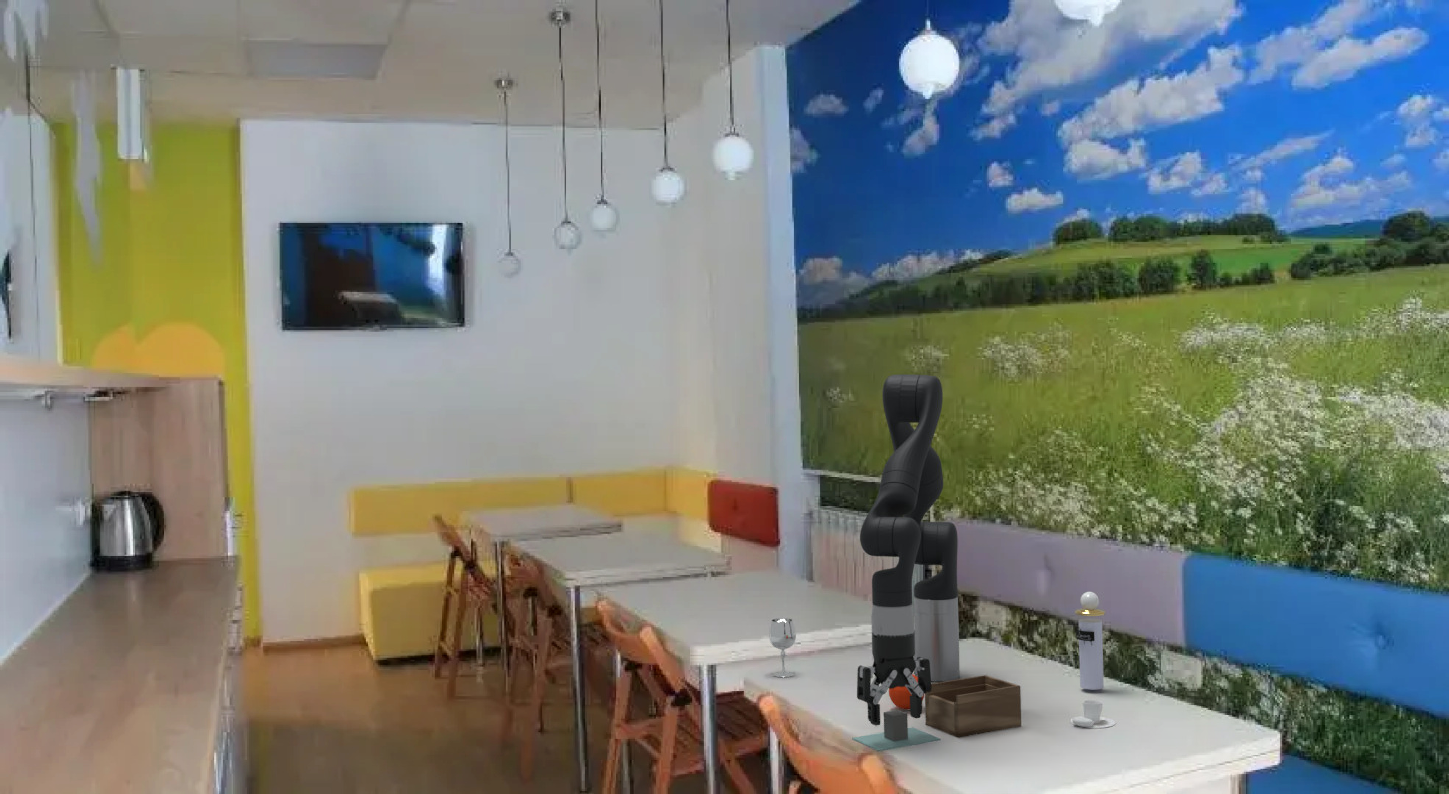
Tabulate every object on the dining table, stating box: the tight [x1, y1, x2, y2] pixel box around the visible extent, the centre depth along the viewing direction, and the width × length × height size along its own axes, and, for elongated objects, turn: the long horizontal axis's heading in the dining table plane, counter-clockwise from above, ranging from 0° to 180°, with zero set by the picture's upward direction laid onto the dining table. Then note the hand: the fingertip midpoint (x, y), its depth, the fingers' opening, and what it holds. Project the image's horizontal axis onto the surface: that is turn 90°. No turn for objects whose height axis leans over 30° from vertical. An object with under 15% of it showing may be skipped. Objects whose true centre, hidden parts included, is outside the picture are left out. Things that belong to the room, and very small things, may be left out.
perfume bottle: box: [1074, 591, 1106, 691], centre depth 248 cm, size 6×6×20 cm
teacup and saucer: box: [1070, 699, 1116, 729], centre depth 225 cm, size 9×8×4 cm
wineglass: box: [768, 617, 797, 678], centre depth 269 cm, size 6×6×12 cm
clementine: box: [888, 673, 925, 711], centre depth 237 cm, size 8×7×7 cm
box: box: [924, 674, 1022, 739], centre depth 225 cm, size 10×14×7 cm
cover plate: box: [851, 709, 941, 752], centre depth 217 cm, size 8×13×5 cm, turn 116°
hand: (895, 721), depth 217 cm, fingers open, 8 cm apart
